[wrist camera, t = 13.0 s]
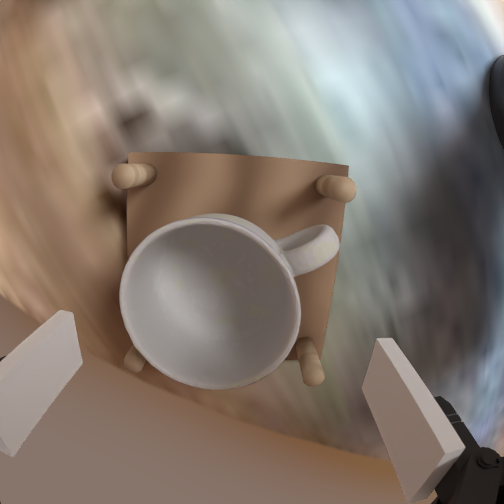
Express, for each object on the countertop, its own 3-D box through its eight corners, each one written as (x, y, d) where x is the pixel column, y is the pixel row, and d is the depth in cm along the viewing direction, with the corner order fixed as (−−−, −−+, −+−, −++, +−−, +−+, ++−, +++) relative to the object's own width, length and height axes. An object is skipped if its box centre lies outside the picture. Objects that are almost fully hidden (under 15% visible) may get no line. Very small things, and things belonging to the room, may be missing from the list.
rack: (343, 165, 24) (372, 165, 18) (317, 351, 29) (331, 394, 22) (135, 153, 24) (100, 150, 18) (139, 338, 28) (115, 377, 22)
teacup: (184, 344, 27) (163, 403, 19) (133, 230, 24) (86, 257, 16) (339, 298, 26) (370, 348, 18) (302, 170, 23) (327, 171, 15)
